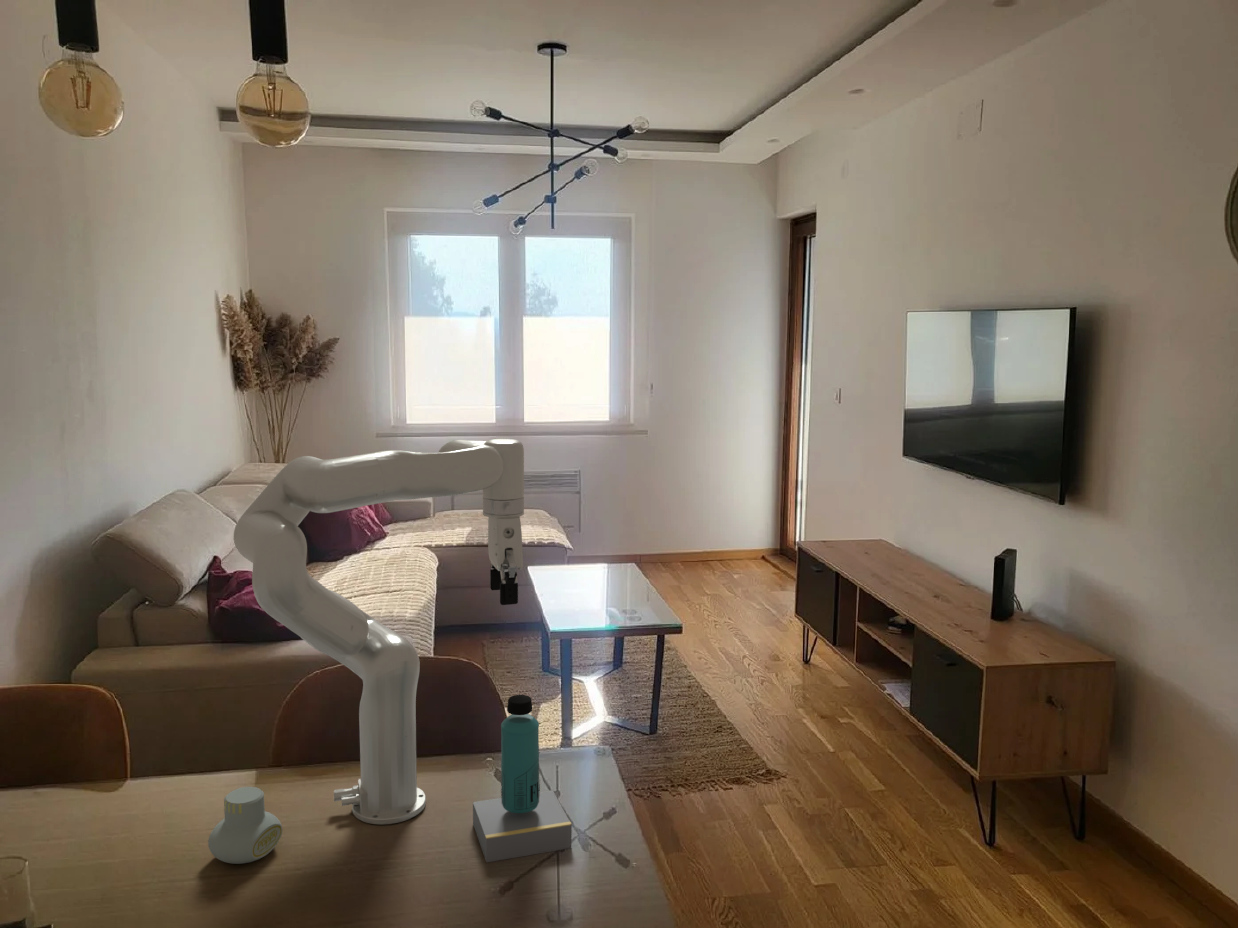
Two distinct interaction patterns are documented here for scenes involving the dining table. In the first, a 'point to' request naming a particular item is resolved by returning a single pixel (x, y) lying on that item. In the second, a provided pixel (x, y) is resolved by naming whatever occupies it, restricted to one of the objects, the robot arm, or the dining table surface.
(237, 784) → the dining table surface
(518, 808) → the beverage bottle
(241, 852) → the air freshener
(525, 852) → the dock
